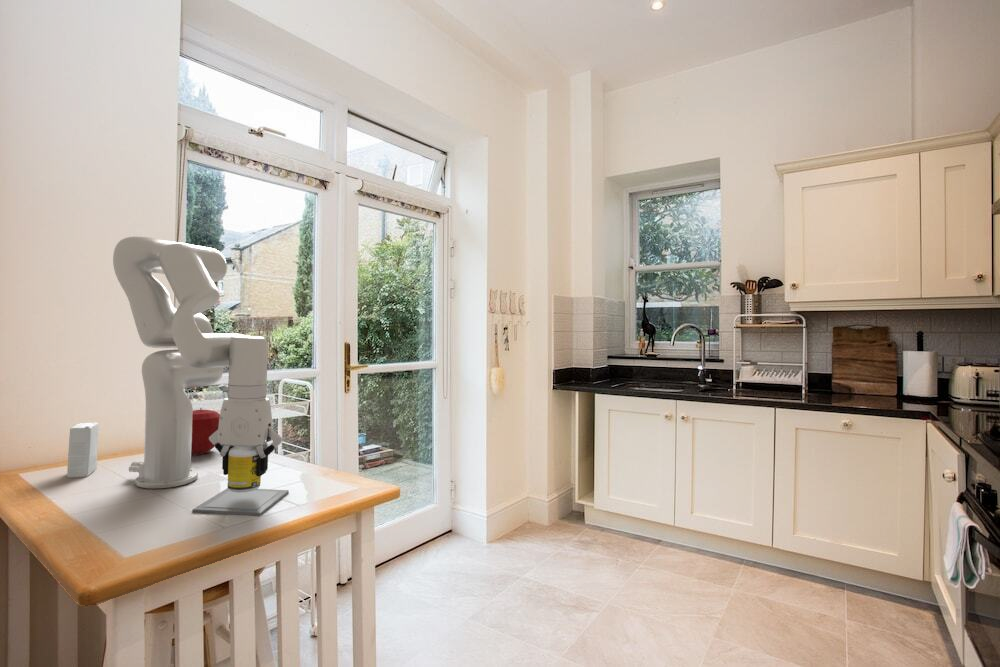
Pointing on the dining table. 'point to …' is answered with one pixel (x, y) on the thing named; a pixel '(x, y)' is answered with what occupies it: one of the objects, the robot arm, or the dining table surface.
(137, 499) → the dining table surface
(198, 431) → the apple
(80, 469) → the skincare box
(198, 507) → the coaster
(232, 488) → the pill bottle
